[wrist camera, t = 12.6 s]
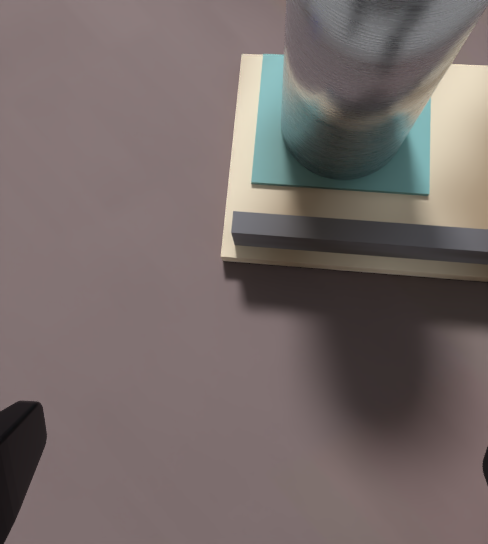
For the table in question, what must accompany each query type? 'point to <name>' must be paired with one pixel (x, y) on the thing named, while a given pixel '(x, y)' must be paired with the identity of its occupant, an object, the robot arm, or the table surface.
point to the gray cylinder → (364, 76)
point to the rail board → (363, 188)
